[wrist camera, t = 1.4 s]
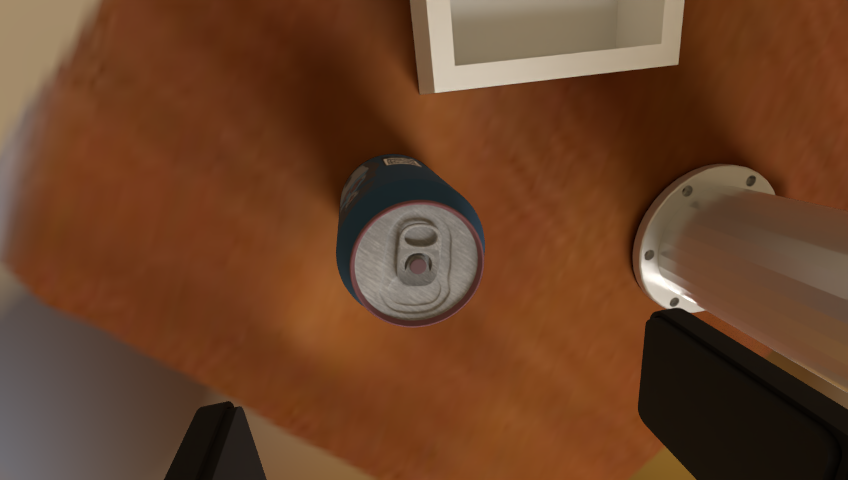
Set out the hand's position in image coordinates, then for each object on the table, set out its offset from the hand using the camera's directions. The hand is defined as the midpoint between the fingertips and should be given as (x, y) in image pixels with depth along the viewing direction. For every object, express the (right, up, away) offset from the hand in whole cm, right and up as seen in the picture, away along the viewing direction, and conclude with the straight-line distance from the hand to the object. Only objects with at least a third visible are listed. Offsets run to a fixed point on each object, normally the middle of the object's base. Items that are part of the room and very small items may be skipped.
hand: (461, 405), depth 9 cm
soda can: (-3, +6, +19) cm, 20 cm away
